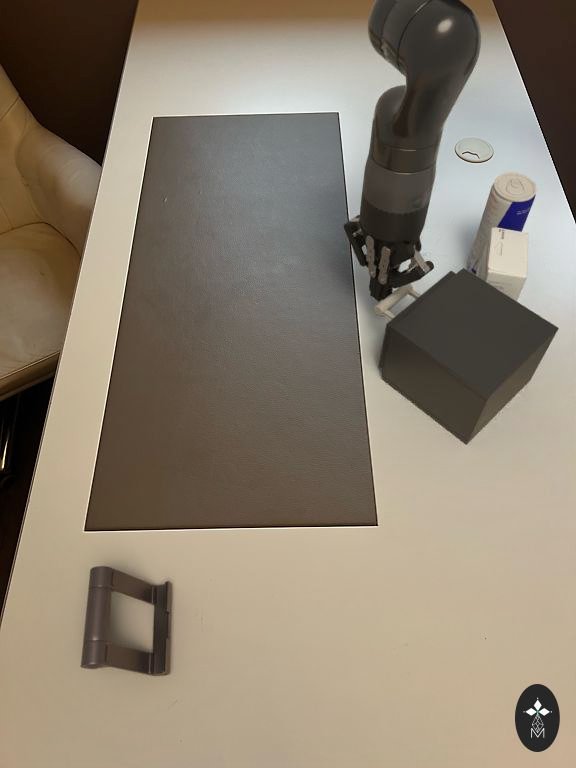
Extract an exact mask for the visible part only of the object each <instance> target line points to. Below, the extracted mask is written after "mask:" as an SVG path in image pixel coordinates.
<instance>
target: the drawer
mask: <svg viewBox="0 0 576 768" xmlns="http://www.w3.org/2000/svg"><path fill="white" fill-rule="evenodd" d="M455 274H456V272H454V271H452V270H450V271H449V272H447V273H446V274H445V275H443V277H441V278H440V279H439V280H438V281H436V282H435V283H434V284H433V285H432V286H431V287H429V288H428V289H427V290H425V291H424V292H423V293H422V294H421V293H419V292H418V291H416V290H415V289H413V288H414V287H413V285H412V283H410V284H407V285H404V286H401V287H399V288H396V289H394V291H392V294H390V295H389V296H388V297H387V298H385V299H384V300H381V301H380V302H378V304H376V305H375V306H374V307H373V310H374V313H375V314H376V315H377V316H380V317H381V316H384V317H385V318H387V319H388V320H389V321H388V322H387V323H386V325H385V329H384V335H383V341H382V345H381V352H380V357H379V362H378V368H379V369H380V370H382V371H383V370H384V365H385V360H386V355H387V350H388V345H389V340H390V335H391V329H392V327H393V326H394V325H395V324H396V323H397V322H399V321H400V320H401V319H402V318H404V317H405V316H406V315H407V314H408V313H410V312H411V311H412V310H413V309H414V308H416V307H417V306H418V305H419V304H420V303H422V302H423V301H424V300H425V299H426V298H428V297H429V296H430V295H431V294H432V293H434V292H435V291H436V290H437V289H438V288H440V287H441V286H442V285H443V284H444V283H446V282H447V281H448V280H449V279H450V278H452V277H453V276H454V275H455ZM407 295H409V296H411V297H412V298H413V299H415V300H413V301H412V302H411V303H410V304H408V305H406V307H405V308H403V310H401V311H400V312H399V313H398V314H396V315H395V314H394V313H392V312H391V311H390V310H391V309H392V308H393V307H394V306H395V305H397V304H398V303H399V302H400V301H402V300H403V299H404V298H405V297H406V296H407Z"/></svg>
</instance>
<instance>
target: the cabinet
mask: <svg viewBox="0 0 576 768" xmlns="http://www.w3.org/2000/svg"><path fill="white" fill-rule="evenodd" d="M455 273H456V272H455ZM558 331H559V327H558V326H557V325H555V324H553V323H552V322H550V321H548V320H547V319H546V318H544V317H542V316H540V315H539V314H538V313H536V312H535V311H533V310H531V309H529V308H527V307H526V306H525V305H523V304H522V303H520V302H518V300H517V301H515V300H514V299H512V298H510V297H509V296H507V295H506V294H504V293H503V292H501V291H499V290H498V289H496V288H495V287H493V286H491V285H490V284H488V283H487V282H485V281H484V280H482V279H480V278H479V277H477V276H476V275H474V274H473V273H471V272H470V271H469V270H468V269H467V268H465V267H462V269H460V270H459V271H457V273H456V274H455V275H454V276H453V277H452V278H450V279H449V280H448V281H447V282H446V283H444V284H443V285H442V286H441V287H440V288H438V289H437V290H436V291H435V292H434V293H432V294H431V295H430V296H429V297H428V298H426V299H425V300H424V301H423V302H422V303H420V304H419V305H418V306H417V307H416V308H414V309H413V310H412V311H411V312H410V313H408V314H407V315H406V316H405V317H404V318H402V319H401V320H400V321H399V322H397V323H396V324H395V325H394V326H393V327H392V329H391V335H390V340H389V345H388V350H387V355H386V360H385V365H384V370H382V376H381V380H382V381H383V382H385V383H386V384H388V386H390V387H391V388H393V389H394V390H395V391H396V392H398V393H399V394H400V395H401V396H403V397H404V398H406V400H408V401H409V402H411V403H412V404H413V405H414V406H416V407H417V408H418V409H419V410H421V411H422V412H423V413H424V414H426V415H427V416H429V417H430V418H431V419H432V420H434V421H435V422H436V423H438V424H439V425H440V426H442V428H444V429H446V430H447V431H448V432H449V433H450V434H452V435H453V436H454V437H456V438H457V439H458V440H459V441H461V442H462V443H464V444H465V445H468V444H469V443H470V442H471V441H472V440H473V439H474V438H475V437H476V436H477V435H478V434H479V433H480V432H482V430H483V429H484V428H485V427H486V426H487V425H488V424H489V423H490V422H491V421H492V420H493V419H494V418H495V417H496V416H497V415H498V414H499V413H501V411H502V410H503V409H504V408H505V407H506V406H507V405H508V404H509V402H511V400H513V398H514V397H516V396H517V395H518V393H520V392H521V390H523V388H524V387H526V385H528V384H529V382H531V380H532V378H533V376H534V375H535V373H536V371H537V369H538V368H539V366H540V365H541V362H542V360H543V358H544V357H545V354H546V352H547V350H548V349H549V347H550V345H551V343H552V342H553V340H554V338H555V337H556V334H557V332H558Z"/></svg>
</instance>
